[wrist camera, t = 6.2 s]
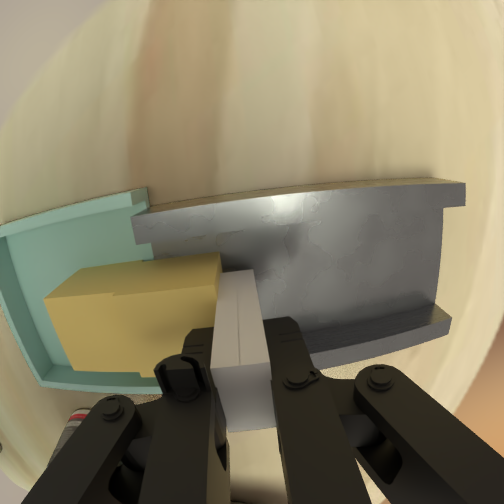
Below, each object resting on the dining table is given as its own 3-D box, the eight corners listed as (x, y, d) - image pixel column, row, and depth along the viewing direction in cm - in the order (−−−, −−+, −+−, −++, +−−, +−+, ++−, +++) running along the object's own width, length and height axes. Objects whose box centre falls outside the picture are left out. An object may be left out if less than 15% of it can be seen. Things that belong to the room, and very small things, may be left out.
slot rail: (184, 354, 17) (177, 386, 14) (149, 206, 14) (130, 217, 11) (424, 312, 17) (448, 334, 14) (432, 177, 14) (465, 182, 12)
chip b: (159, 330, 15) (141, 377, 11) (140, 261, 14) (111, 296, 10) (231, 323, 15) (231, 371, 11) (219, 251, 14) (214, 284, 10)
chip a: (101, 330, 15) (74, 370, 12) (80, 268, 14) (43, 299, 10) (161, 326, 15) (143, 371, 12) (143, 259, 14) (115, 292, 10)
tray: (54, 366, 17) (40, 386, 14) (3, 224, 14) (-21, 233, 11) (188, 366, 17) (183, 393, 15) (146, 187, 14) (130, 192, 11)
